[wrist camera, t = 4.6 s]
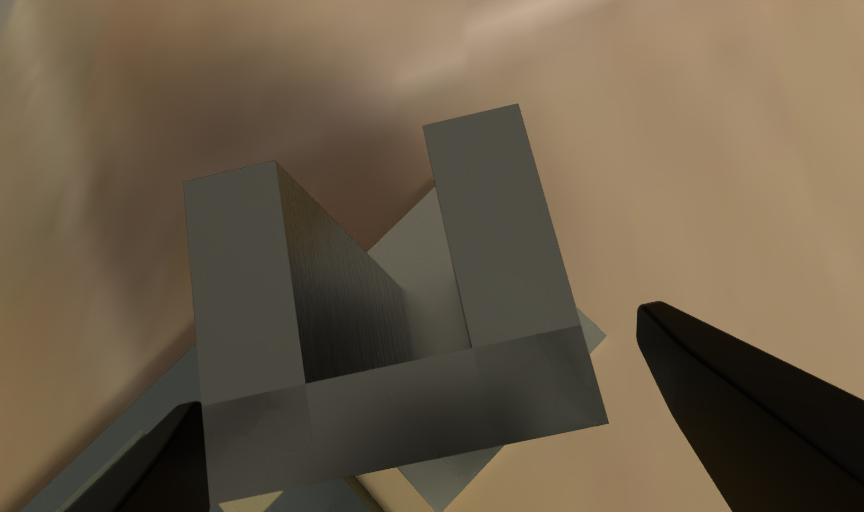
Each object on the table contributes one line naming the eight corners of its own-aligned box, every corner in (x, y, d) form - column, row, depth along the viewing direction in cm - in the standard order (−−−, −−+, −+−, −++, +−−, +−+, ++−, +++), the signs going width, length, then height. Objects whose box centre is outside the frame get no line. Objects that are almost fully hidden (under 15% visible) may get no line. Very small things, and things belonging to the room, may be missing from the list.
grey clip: (515, 379, 17) (608, 423, 5) (386, 406, 17) (210, 505, 6) (488, 267, 18) (518, 103, 6) (367, 294, 18) (184, 181, 7)
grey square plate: (604, 336, 18) (606, 335, 17) (439, 511, 17) (438, 515, 16) (439, 185, 20) (439, 182, 19) (285, 336, 19) (280, 335, 18)
